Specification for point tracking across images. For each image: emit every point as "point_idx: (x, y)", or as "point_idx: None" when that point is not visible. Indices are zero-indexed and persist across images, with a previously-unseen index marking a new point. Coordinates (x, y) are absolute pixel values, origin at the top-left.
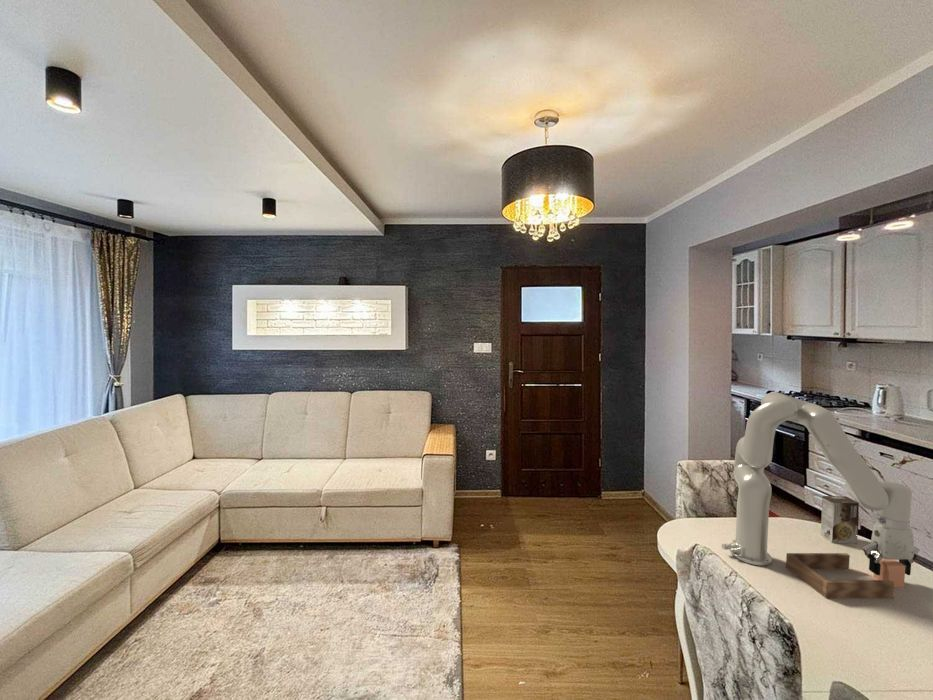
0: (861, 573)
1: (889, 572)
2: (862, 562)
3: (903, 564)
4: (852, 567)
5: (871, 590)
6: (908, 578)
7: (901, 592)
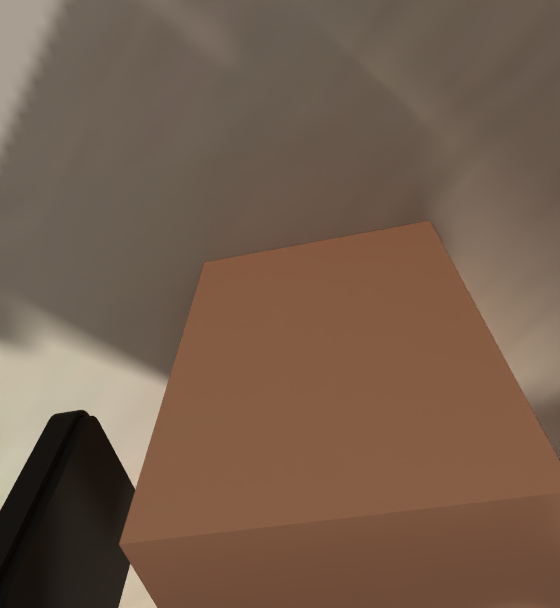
0: None
1: (503, 357)
2: None
3: (75, 592)
4: None
5: None
6: None
7: (349, 95)
